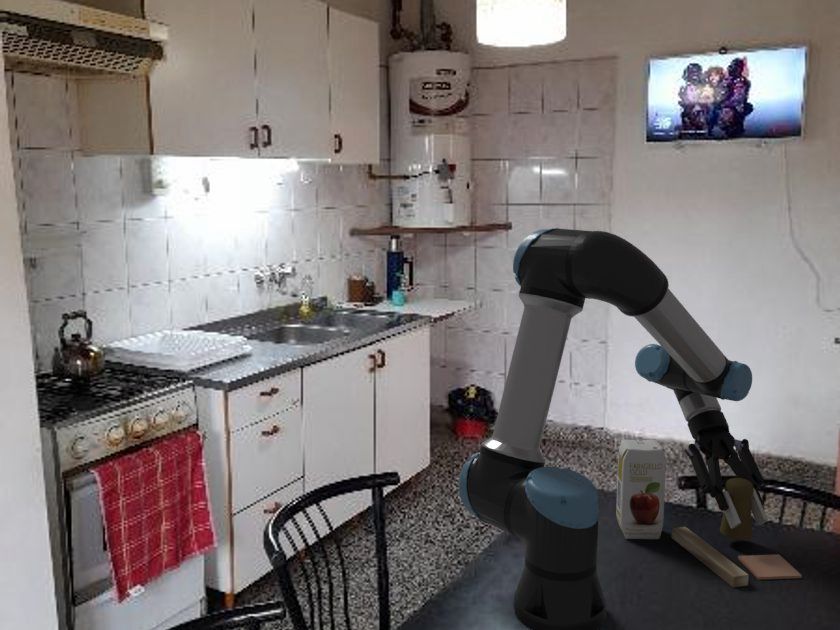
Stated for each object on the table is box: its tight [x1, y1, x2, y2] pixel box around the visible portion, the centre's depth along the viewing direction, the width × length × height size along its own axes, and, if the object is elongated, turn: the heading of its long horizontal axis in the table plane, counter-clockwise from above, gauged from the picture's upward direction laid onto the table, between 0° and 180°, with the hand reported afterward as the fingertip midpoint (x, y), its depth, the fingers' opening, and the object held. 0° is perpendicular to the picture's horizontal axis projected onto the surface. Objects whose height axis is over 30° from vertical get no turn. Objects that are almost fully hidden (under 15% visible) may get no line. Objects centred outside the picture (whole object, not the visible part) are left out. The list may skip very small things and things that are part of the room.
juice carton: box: [615, 438, 667, 540], centre depth 154 cm, size 8×9×19 cm
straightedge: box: [671, 526, 750, 588], centre depth 144 cm, size 3×20×2 cm, turn 13°
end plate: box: [737, 553, 803, 581], centre depth 141 cm, size 8×8×1 cm
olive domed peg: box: [719, 477, 754, 541], centre depth 150 cm, size 6×6×11 cm
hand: (749, 523), depth 146 cm, fingers closed on olive domed peg, 5 cm apart
